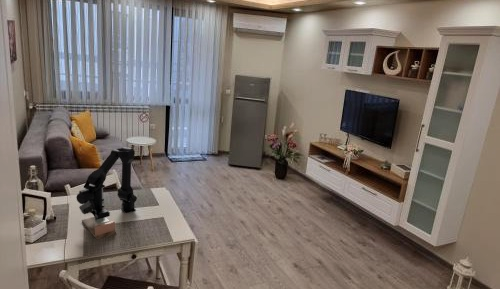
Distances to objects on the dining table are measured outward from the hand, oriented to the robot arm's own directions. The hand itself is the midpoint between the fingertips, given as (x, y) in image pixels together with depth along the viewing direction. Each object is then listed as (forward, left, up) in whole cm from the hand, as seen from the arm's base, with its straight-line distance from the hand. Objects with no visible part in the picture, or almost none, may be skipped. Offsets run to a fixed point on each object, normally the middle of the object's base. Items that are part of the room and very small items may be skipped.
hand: (97, 222), depth 189 cm
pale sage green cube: (0, +7, -1) cm, 7 cm away
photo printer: (-10, -31, -3) cm, 33 cm away
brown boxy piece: (0, +2, -2) cm, 3 cm away
